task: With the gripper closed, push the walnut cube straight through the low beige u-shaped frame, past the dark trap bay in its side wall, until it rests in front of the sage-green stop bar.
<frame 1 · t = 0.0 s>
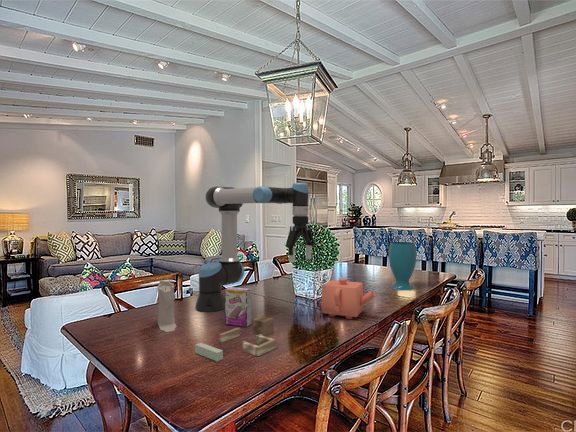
hand: (300, 260, 164), 28 cm above the table, fingers open, 13 cm apart
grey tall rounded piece: (167, 327, 154), on the table
vase: (402, 288, 230), on the table
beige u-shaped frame: (241, 342, 136), on the table
block: (263, 333, 147), on the table
teapot: (349, 315, 171), on the table
stop bar: (208, 355, 123), on the table
candy bar box: (238, 325, 157), on the table
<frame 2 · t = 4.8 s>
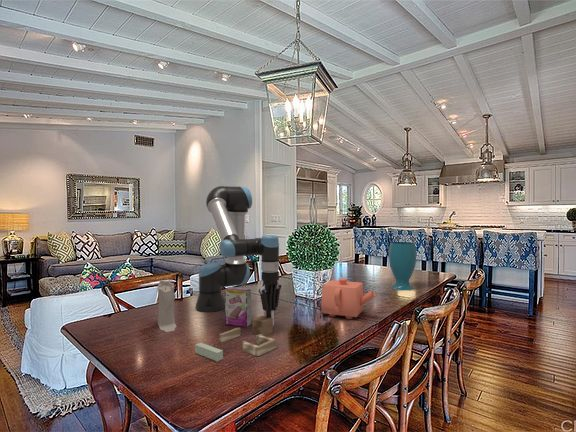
hand: (270, 325, 150), 2 cm above the table, fingers closed
block: (262, 333, 146), on the table, touching gripper
everything else where it was.
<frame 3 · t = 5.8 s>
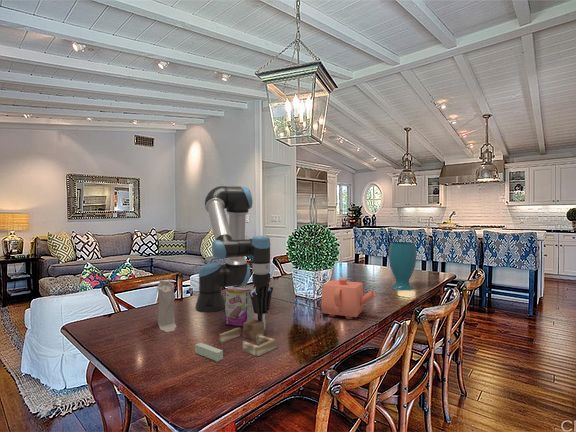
hand: (261, 328, 146), 2 cm above the table, fingers closed
block: (253, 337, 142), on the table, touching gripper
everything else where it was.
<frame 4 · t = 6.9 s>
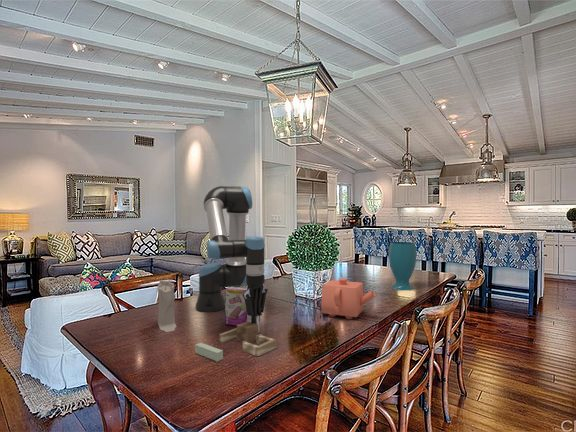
hand: (255, 331, 143), 2 cm above the table, fingers closed
block: (247, 339, 139), on the table, touching gripper
everything else where it was.
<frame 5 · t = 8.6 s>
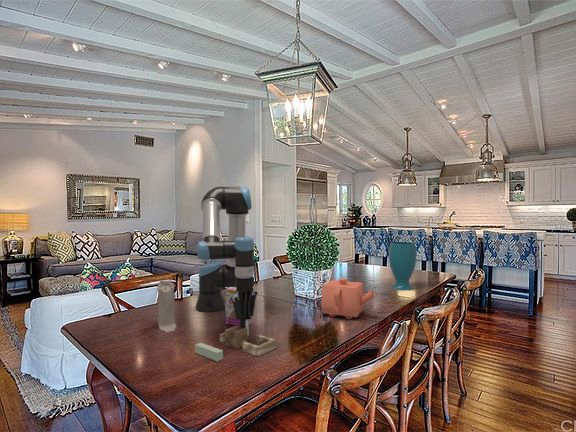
hand: (245, 335, 138), 2 cm above the table, fingers closed
block: (236, 344, 134), on the table, touching gripper
everything else where it was.
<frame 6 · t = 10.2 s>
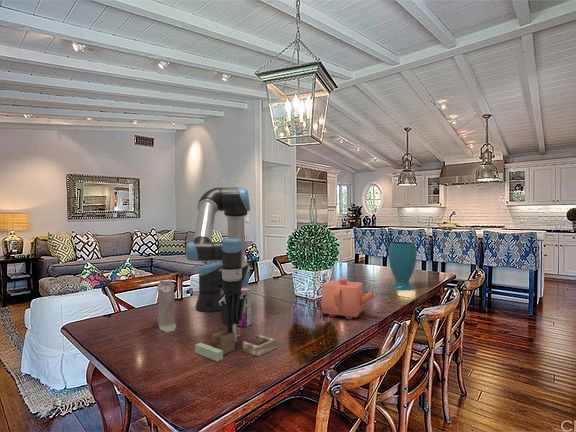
hand: (232, 340, 132), 2 cm above the table, fingers closed
block: (223, 350, 128), on the table, touching gripper
everything else where it was.
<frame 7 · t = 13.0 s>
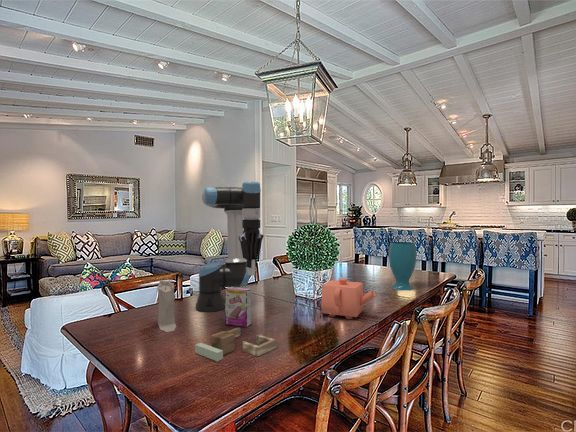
hand: (251, 275, 145), 25 cm above the table, fingers closed
block: (223, 350, 128), on the table
everything else where it was.
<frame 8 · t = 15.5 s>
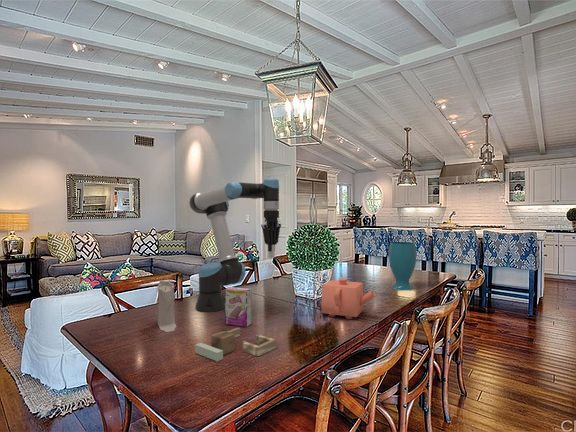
hand: (271, 257, 171), 28 cm above the table, fingers closed
nothing on the table moved.
at the end: block inside the target area (0.7 cm from its centre), on the table; block moved 22.9 cm from its start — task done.
